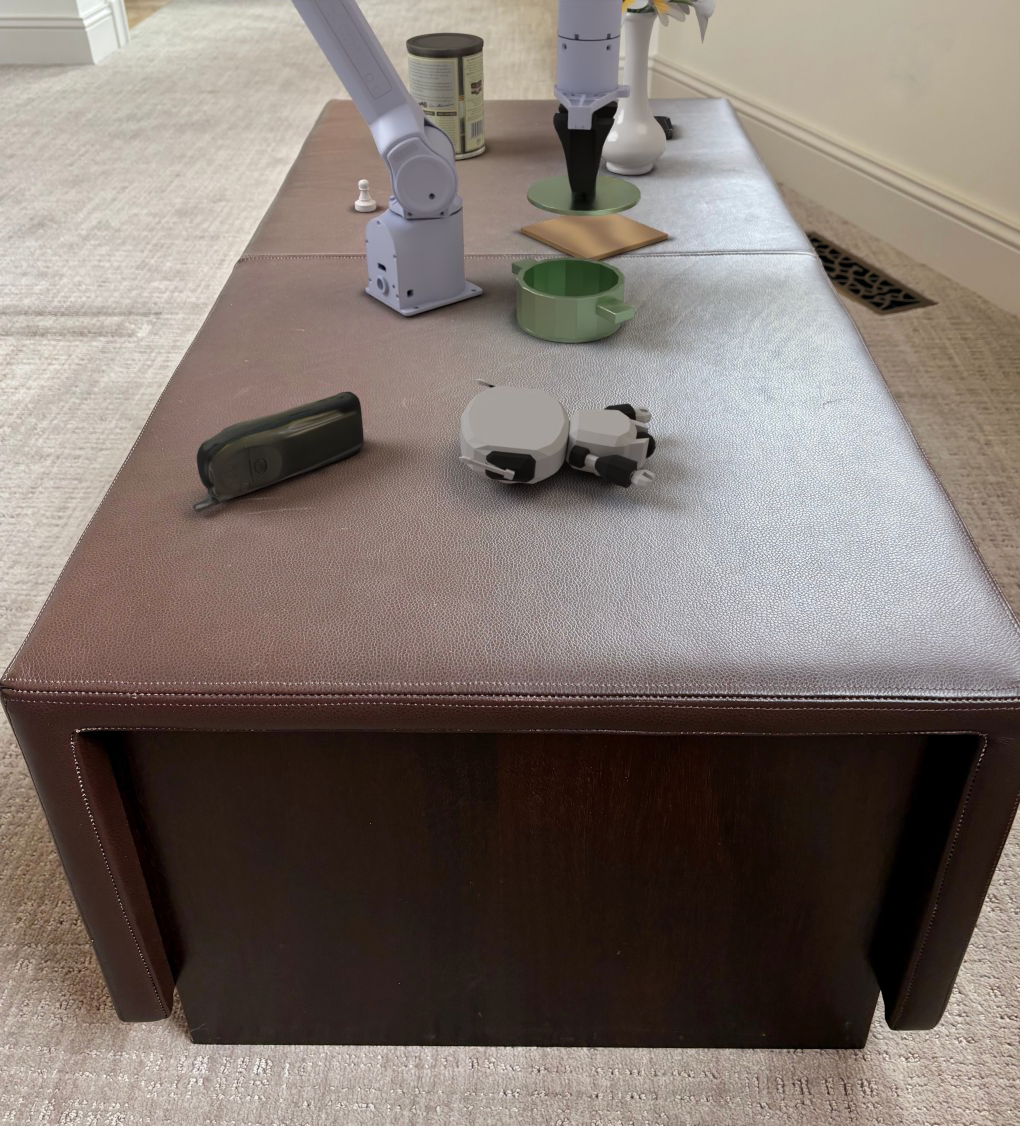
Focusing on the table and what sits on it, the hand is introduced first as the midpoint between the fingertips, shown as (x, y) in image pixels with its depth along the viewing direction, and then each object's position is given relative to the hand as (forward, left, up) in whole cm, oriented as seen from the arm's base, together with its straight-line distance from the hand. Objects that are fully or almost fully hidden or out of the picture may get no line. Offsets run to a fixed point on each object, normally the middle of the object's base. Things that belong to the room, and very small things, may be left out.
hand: (583, 186), depth 104 cm
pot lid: (0, 0, -1) cm, 1 cm away
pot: (-6, -5, -10) cm, 13 cm away
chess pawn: (-5, +35, -11) cm, 36 cm away
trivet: (+11, +11, -10) cm, 18 cm away
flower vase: (+32, +27, -11) cm, 43 cm away
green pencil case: (-42, -14, -11) cm, 45 cm away
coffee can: (+17, +49, -11) cm, 52 cm away
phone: (+42, +41, -10) cm, 59 cm away
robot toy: (-24, -25, -11) cm, 37 cm away
